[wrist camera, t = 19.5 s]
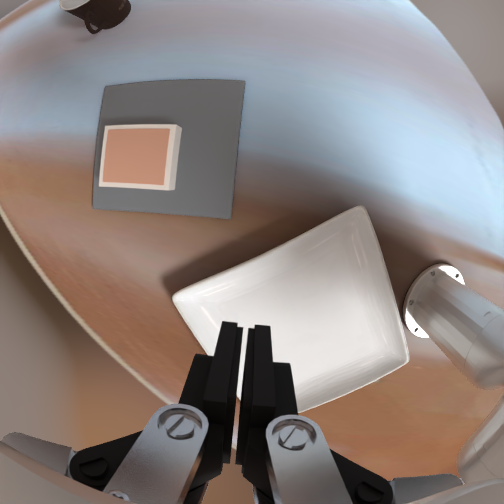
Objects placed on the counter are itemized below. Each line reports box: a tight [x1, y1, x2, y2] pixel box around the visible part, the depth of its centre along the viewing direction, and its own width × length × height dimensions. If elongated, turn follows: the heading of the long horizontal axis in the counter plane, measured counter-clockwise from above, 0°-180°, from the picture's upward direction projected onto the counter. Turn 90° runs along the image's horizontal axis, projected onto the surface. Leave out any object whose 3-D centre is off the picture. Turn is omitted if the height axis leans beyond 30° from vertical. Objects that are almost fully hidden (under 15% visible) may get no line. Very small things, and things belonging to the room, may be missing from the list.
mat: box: [93, 79, 245, 219], centre depth 33 cm, size 20×18×1 cm
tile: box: [99, 124, 182, 191], centre depth 32 cm, size 3×8×10 cm
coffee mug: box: [60, 0, 131, 34], centre depth 23 cm, size 12×9×10 cm
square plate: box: [172, 205, 409, 413], centre depth 38 cm, size 27×27×4 cm
